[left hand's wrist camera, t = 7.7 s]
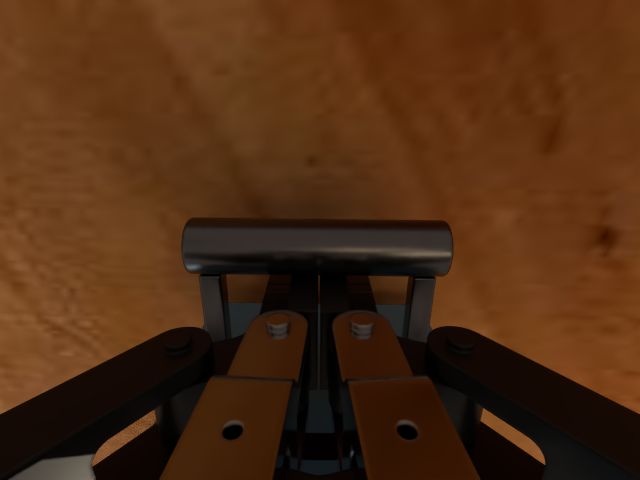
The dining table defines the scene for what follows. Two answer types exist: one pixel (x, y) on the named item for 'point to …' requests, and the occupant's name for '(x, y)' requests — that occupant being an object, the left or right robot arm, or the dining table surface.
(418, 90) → the dining table surface
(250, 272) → the drawer
